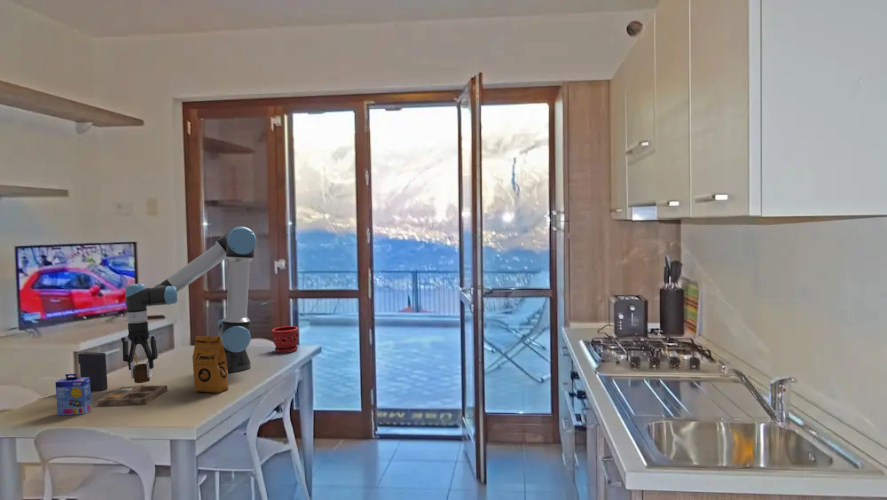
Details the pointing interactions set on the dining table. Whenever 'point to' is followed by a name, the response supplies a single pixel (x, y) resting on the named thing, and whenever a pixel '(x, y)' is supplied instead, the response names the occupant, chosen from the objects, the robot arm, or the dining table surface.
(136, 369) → the utensil holder
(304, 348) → the dining table surface
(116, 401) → the socket board
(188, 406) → the dining table surface
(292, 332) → the plant pot
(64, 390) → the ink cartridge box
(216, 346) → the coffee package
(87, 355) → the black boxy piece
